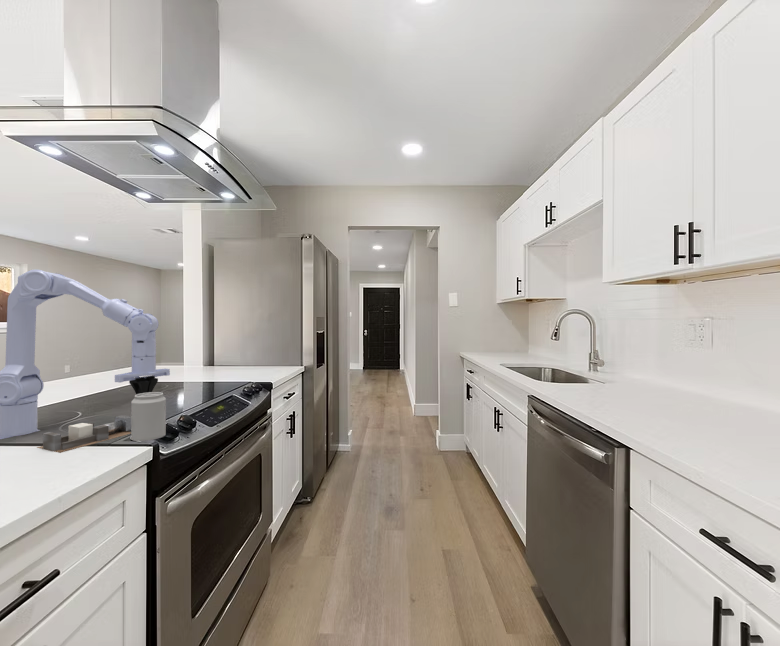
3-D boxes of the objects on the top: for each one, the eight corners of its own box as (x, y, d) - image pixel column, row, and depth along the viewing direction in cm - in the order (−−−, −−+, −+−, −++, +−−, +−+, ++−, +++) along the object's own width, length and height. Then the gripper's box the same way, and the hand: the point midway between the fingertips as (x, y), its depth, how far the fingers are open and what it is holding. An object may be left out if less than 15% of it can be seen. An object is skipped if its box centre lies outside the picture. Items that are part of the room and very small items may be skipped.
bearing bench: (36, 451, 86) (36, 432, 86) (111, 432, 102) (111, 415, 102) (60, 457, 83) (60, 437, 83) (133, 436, 98) (133, 419, 98)
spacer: (68, 442, 90) (68, 425, 90) (82, 438, 93) (82, 422, 93) (78, 444, 89) (78, 427, 89) (92, 440, 91) (92, 424, 91)
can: (148, 446, 91) (149, 397, 91) (123, 443, 93) (123, 395, 92) (172, 436, 98) (172, 391, 98) (148, 434, 100) (148, 390, 100)
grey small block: (88, 436, 94) (88, 422, 94) (122, 427, 102) (122, 415, 102) (99, 438, 93) (99, 424, 93) (133, 429, 101) (133, 416, 100)
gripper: (127, 359, 97) (127, 411, 97) (177, 354, 111) (176, 400, 111) (109, 358, 100) (109, 408, 100) (160, 353, 113) (160, 398, 113)
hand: (143, 404), depth 105 cm, fingers closed
